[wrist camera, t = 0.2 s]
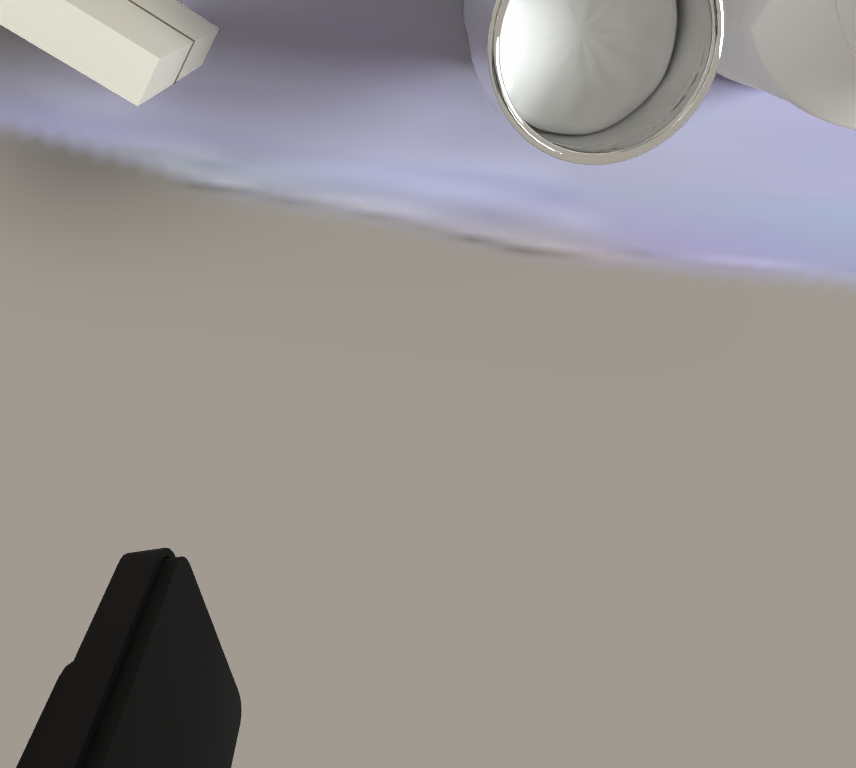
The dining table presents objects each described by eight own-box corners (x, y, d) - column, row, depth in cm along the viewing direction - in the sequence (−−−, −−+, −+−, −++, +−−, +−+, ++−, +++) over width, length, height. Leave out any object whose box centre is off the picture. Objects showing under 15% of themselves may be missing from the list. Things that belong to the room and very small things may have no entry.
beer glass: (497, 118, 38) (546, 214, 25) (423, -29, 35) (434, -8, 22) (637, 38, 36) (767, 96, 23) (572, -122, 34) (679, -160, 20)
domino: (88, -57, 34) (-22, -54, 25) (220, 28, 36) (160, 58, 27) (71, -16, 35) (-40, 1, 26) (202, 65, 37) (137, 107, 28)
